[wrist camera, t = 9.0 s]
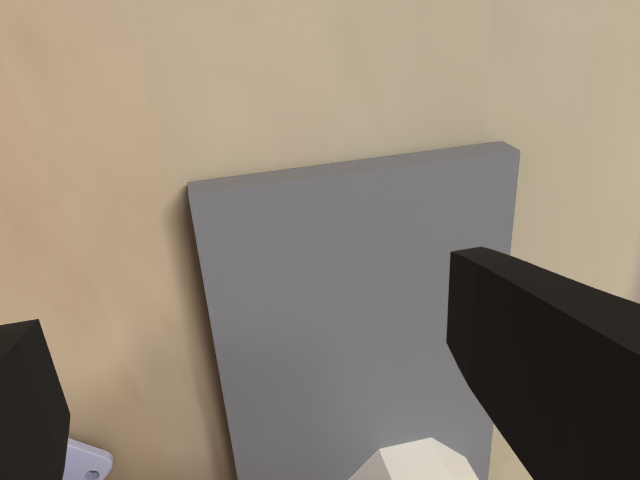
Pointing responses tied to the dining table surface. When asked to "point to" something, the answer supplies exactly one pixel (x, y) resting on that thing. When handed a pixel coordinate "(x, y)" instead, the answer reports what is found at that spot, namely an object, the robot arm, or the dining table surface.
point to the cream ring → (416, 463)
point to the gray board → (347, 305)
